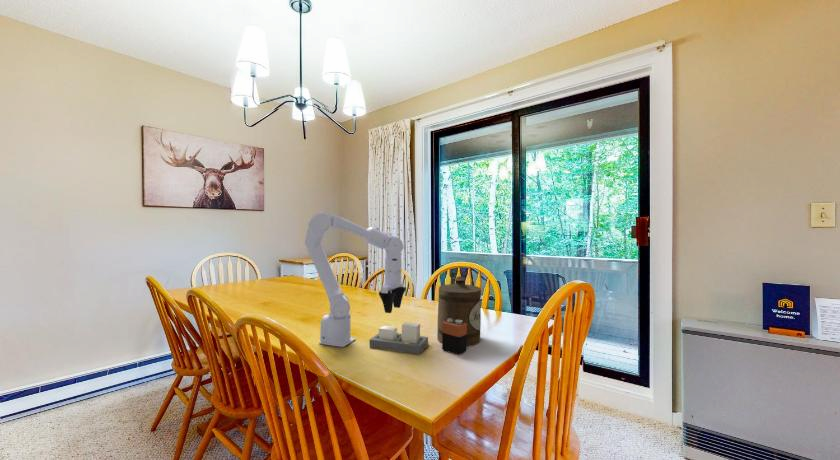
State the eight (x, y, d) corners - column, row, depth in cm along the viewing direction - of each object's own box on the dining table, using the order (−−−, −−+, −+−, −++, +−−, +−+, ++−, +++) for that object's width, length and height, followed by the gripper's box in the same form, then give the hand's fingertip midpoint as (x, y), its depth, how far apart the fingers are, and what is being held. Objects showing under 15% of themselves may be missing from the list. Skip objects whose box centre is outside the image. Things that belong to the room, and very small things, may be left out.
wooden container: (483, 347, 110) (484, 280, 109) (438, 346, 110) (438, 279, 110) (476, 333, 125) (477, 273, 124) (436, 332, 125) (437, 273, 125)
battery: (459, 355, 103) (459, 323, 103) (441, 350, 107) (441, 318, 107) (467, 351, 106) (467, 320, 106) (449, 346, 111) (449, 316, 110)
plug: (401, 346, 108) (401, 325, 108) (405, 343, 112) (405, 322, 112) (416, 348, 107) (416, 326, 107) (419, 344, 110) (420, 323, 110)
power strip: (369, 347, 109) (369, 330, 109) (381, 338, 118) (381, 322, 118) (419, 354, 104) (419, 336, 104) (428, 344, 112) (428, 328, 112)
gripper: (395, 274, 109) (395, 316, 110) (411, 269, 123) (410, 306, 123) (375, 273, 112) (375, 314, 112) (393, 268, 125) (393, 304, 126)
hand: (392, 309), depth 118 cm, fingers open, 7 cm apart
